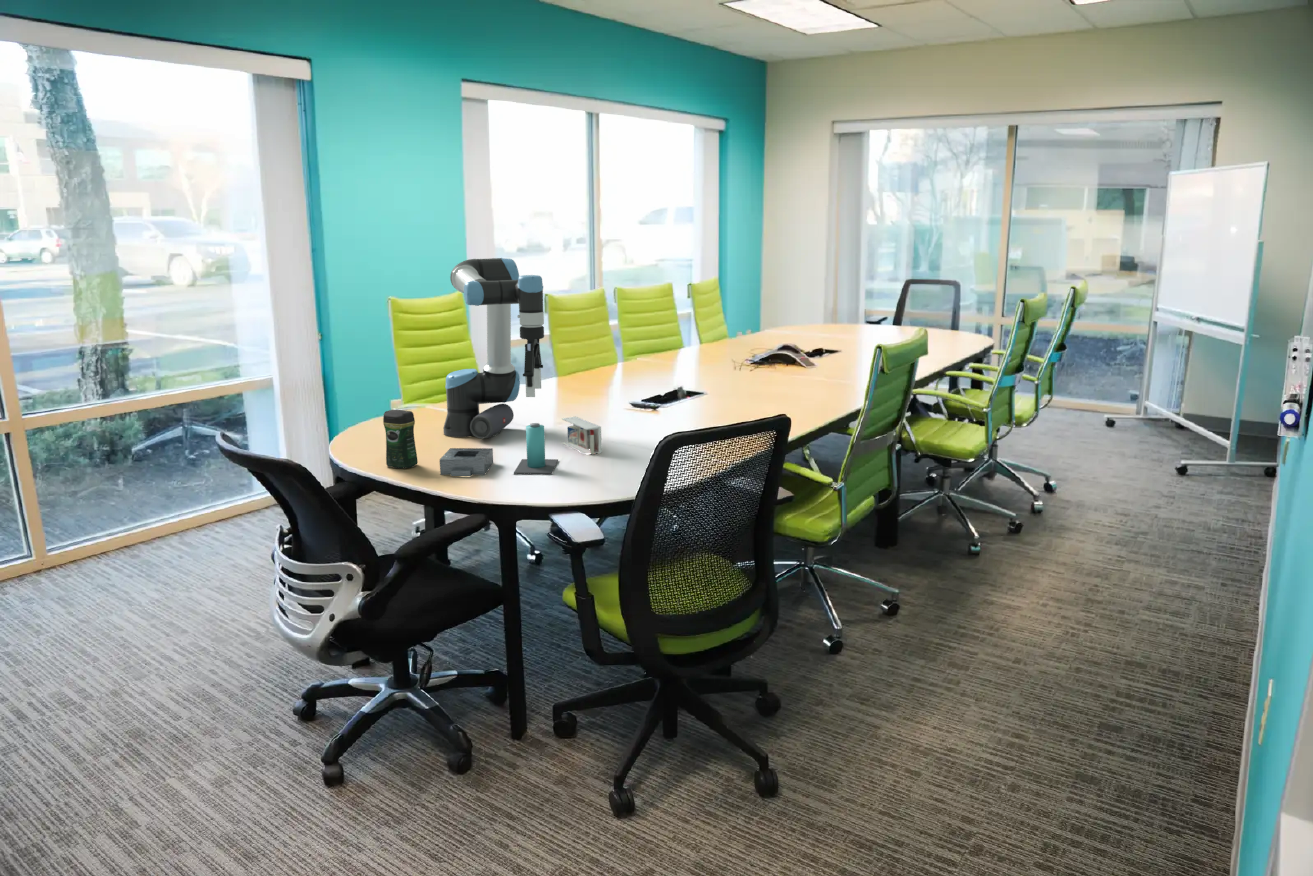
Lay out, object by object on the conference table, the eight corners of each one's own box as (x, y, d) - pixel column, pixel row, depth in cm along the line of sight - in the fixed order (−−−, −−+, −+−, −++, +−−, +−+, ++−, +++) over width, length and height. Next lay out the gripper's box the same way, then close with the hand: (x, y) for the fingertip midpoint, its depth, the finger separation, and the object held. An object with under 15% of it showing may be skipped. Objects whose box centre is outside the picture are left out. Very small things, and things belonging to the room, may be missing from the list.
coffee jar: (422, 464, 302) (418, 409, 298) (406, 470, 295) (402, 413, 291) (398, 461, 306) (394, 406, 302) (382, 467, 299) (378, 411, 295)
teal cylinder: (528, 463, 302) (527, 422, 298) (546, 463, 302) (545, 422, 298) (526, 468, 296) (524, 426, 293) (544, 468, 296) (542, 426, 293)
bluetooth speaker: (493, 443, 330) (492, 415, 328) (468, 440, 332) (468, 413, 330) (515, 428, 352) (515, 403, 349) (492, 426, 354) (492, 401, 351)
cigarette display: (562, 443, 329) (561, 418, 327) (576, 441, 332) (575, 416, 330) (589, 456, 313) (588, 429, 311) (603, 454, 316) (603, 427, 314)
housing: (452, 460, 307) (451, 446, 306) (494, 461, 306) (494, 446, 305) (438, 476, 288) (437, 461, 287) (483, 477, 288) (482, 461, 287)
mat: (522, 460, 307) (522, 459, 307) (558, 461, 307) (558, 459, 306) (513, 474, 291) (513, 472, 291) (551, 474, 291) (551, 472, 291)
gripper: (526, 320, 300) (528, 385, 305) (512, 330, 276) (515, 400, 281) (549, 320, 300) (550, 385, 305) (537, 330, 276) (540, 400, 281)
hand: (533, 392), depth 293 cm, fingers open, 13 cm apart
